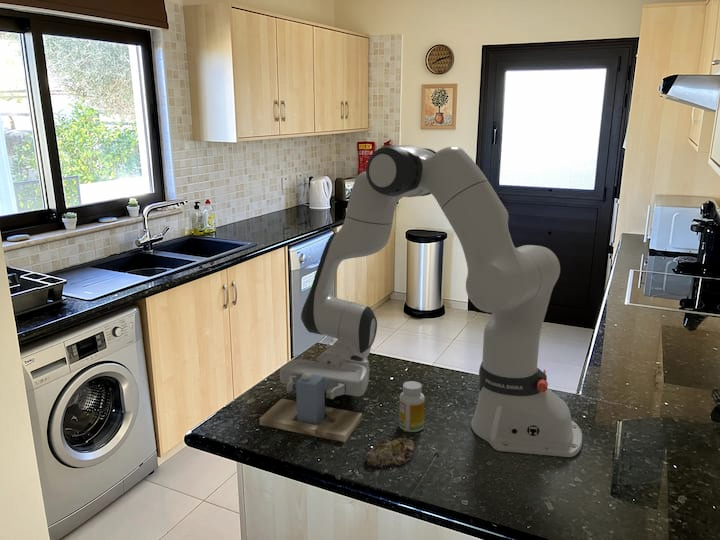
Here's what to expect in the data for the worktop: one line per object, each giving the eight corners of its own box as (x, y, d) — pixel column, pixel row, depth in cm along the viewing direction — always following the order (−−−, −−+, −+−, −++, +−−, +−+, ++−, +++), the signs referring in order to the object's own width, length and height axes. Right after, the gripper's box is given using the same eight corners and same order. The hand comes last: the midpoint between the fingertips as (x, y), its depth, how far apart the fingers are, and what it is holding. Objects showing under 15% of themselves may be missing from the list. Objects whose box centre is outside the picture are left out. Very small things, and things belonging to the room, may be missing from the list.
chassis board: (362, 419, 128) (362, 413, 128) (344, 442, 119) (344, 435, 119) (281, 404, 135) (281, 398, 135) (259, 424, 126) (259, 418, 126)
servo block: (325, 418, 128) (324, 373, 126) (316, 428, 124) (315, 381, 122) (306, 414, 130) (305, 370, 127) (297, 424, 126) (295, 378, 123)
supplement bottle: (427, 423, 126) (428, 382, 124) (419, 435, 122) (420, 392, 119) (404, 418, 129) (404, 377, 126) (395, 429, 124) (395, 387, 122)
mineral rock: (397, 428, 120) (420, 436, 113) (401, 449, 120) (424, 457, 114) (353, 445, 115) (374, 454, 108) (357, 467, 115) (378, 477, 108)
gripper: (294, 348, 140) (265, 371, 127) (374, 360, 133) (352, 385, 120) (295, 373, 141) (267, 397, 129) (374, 386, 134) (352, 413, 122)
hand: (308, 392), depth 125 cm, fingers open, 8 cm apart
